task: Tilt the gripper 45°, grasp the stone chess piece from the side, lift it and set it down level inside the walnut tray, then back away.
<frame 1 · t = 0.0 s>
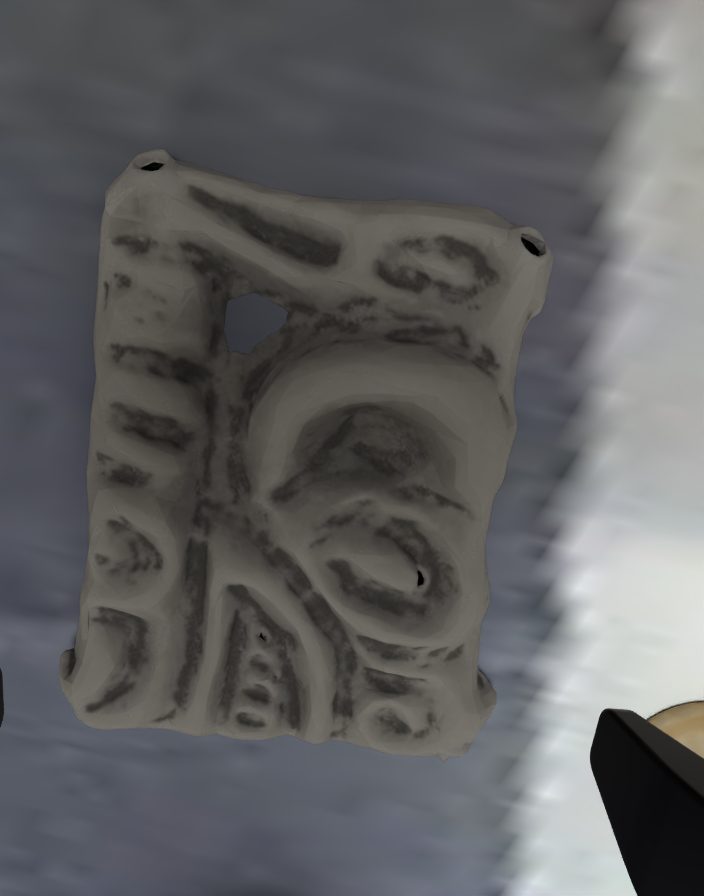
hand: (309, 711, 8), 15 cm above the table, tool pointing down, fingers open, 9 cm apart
wall plaque: (320, 482, 23), on the table
hand bell: (687, 767, 27), on the table
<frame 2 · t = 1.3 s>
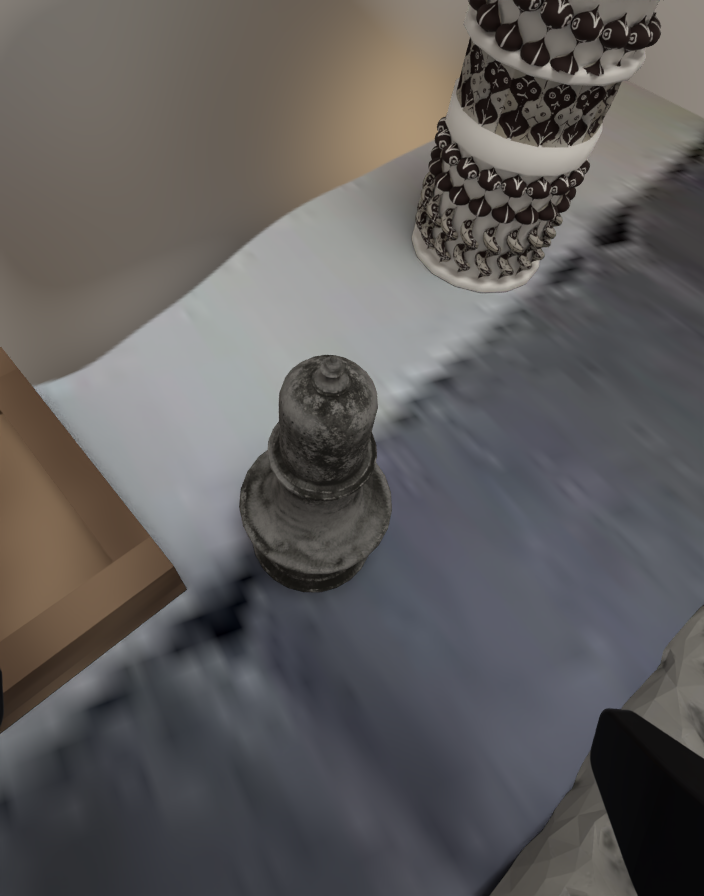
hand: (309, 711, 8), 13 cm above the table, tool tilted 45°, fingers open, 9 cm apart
stone chess piece: (312, 534, 24), on the table
decorative candle: (475, 248, 35), on the table
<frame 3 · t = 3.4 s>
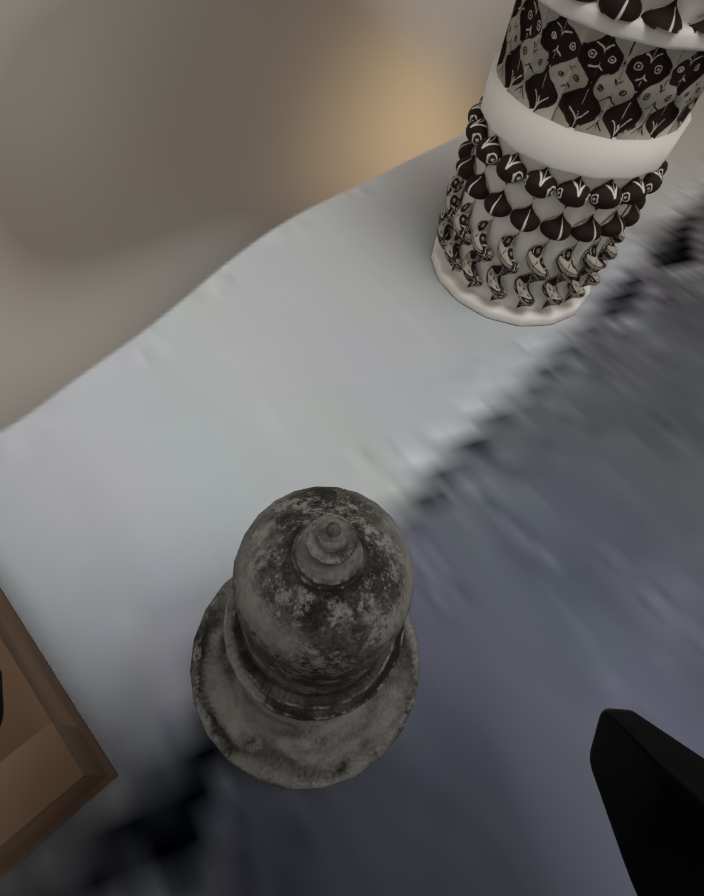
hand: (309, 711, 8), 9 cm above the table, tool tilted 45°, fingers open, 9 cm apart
stone chess piece: (303, 677, 17), on the table
decorative candle: (509, 269, 28), on the table
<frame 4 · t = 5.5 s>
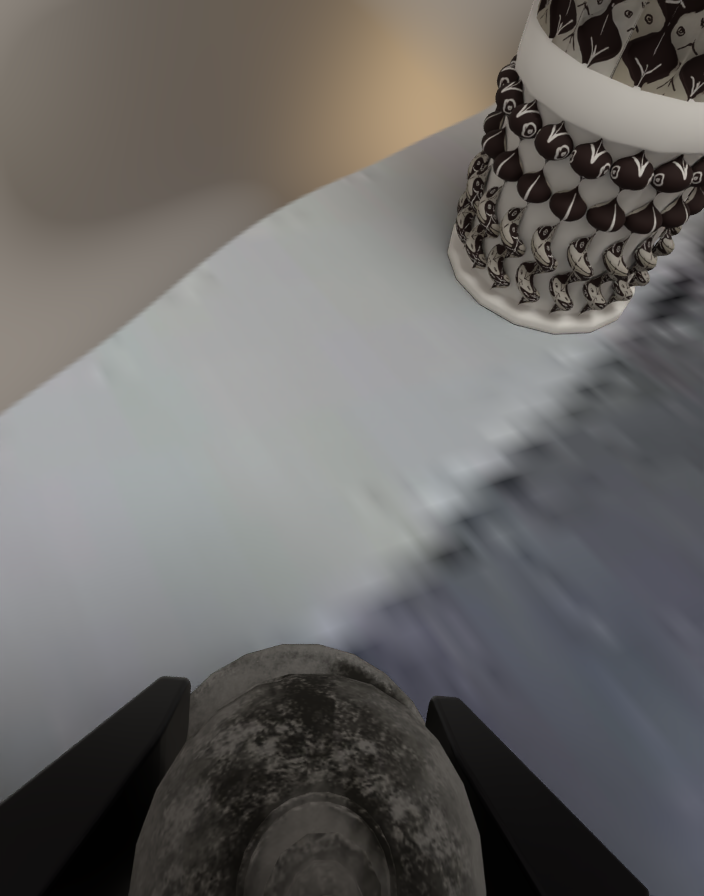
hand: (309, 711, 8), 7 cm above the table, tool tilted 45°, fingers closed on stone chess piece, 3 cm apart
stone chess piece: (293, 799, 13), on the table, touching gripper
decorative candle: (538, 267, 24), on the table
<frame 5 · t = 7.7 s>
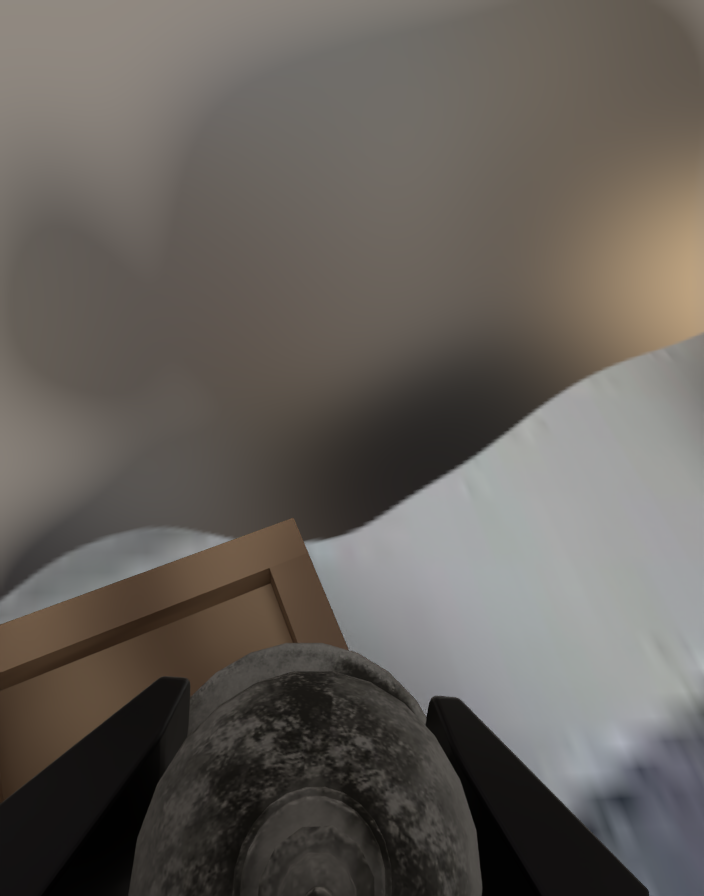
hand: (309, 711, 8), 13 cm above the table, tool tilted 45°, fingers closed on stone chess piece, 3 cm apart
stone chess piece: (298, 797, 13), point 6 cm above the table, touching gripper
walnut tray: (182, 780, 18), on the table
when the fingers open (9 cm above the table, at t = 10.4 s): stone chess piece drops 1 cm, resting on walnut tray.
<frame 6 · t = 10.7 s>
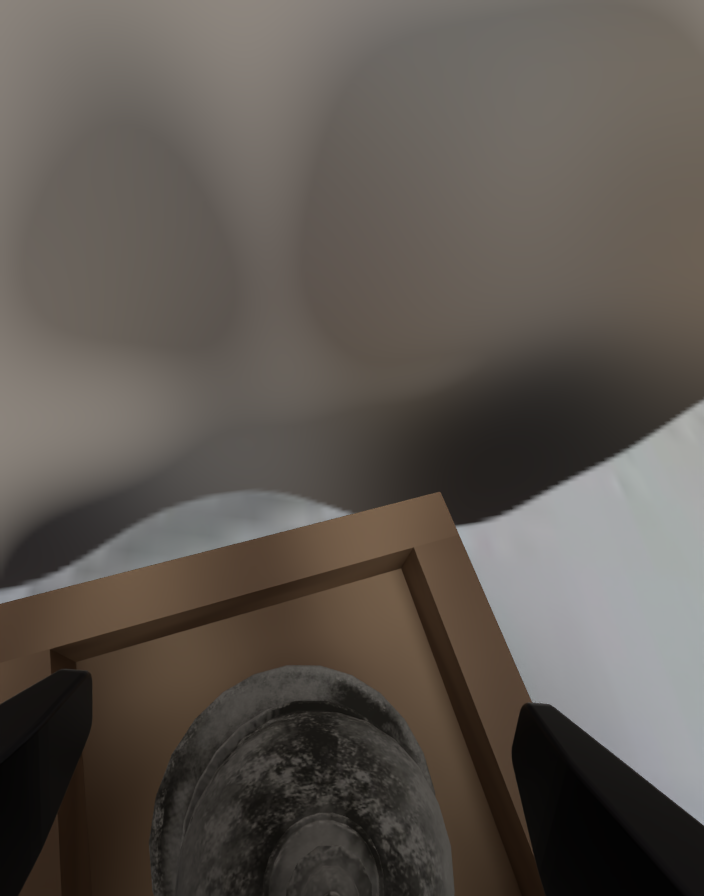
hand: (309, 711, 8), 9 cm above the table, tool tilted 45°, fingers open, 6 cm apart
stone chess piece: (294, 805, 14), point 1 cm above the table, touching walnut tray
walnut tray: (291, 794, 15), on the table
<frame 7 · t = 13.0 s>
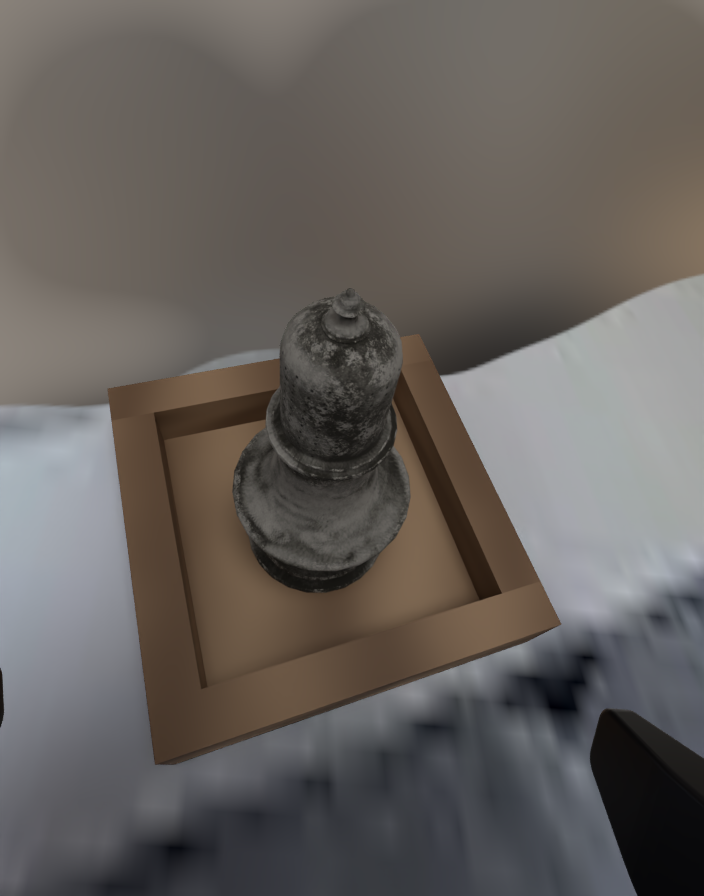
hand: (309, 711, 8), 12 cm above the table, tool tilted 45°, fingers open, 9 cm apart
stone chess piece: (316, 526, 21), point 1 cm above the table, touching walnut tray
walnut tray: (314, 529, 22), on the table
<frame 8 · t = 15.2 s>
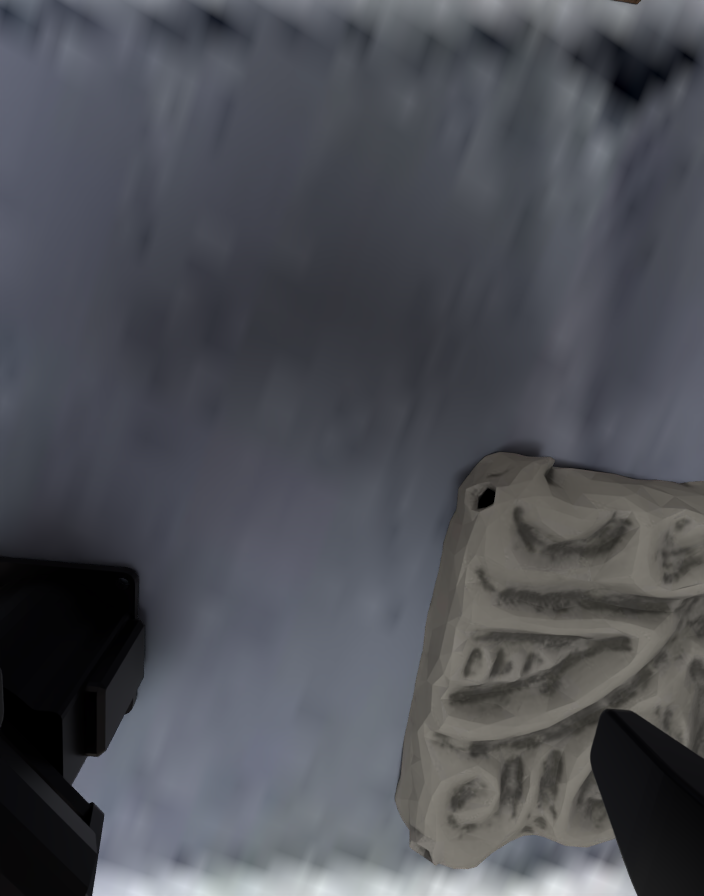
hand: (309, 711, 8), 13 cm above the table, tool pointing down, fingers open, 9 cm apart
wall plaque: (668, 675, 24), on the table
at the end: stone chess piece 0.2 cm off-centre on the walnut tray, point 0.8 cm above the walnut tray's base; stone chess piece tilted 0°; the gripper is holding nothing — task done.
